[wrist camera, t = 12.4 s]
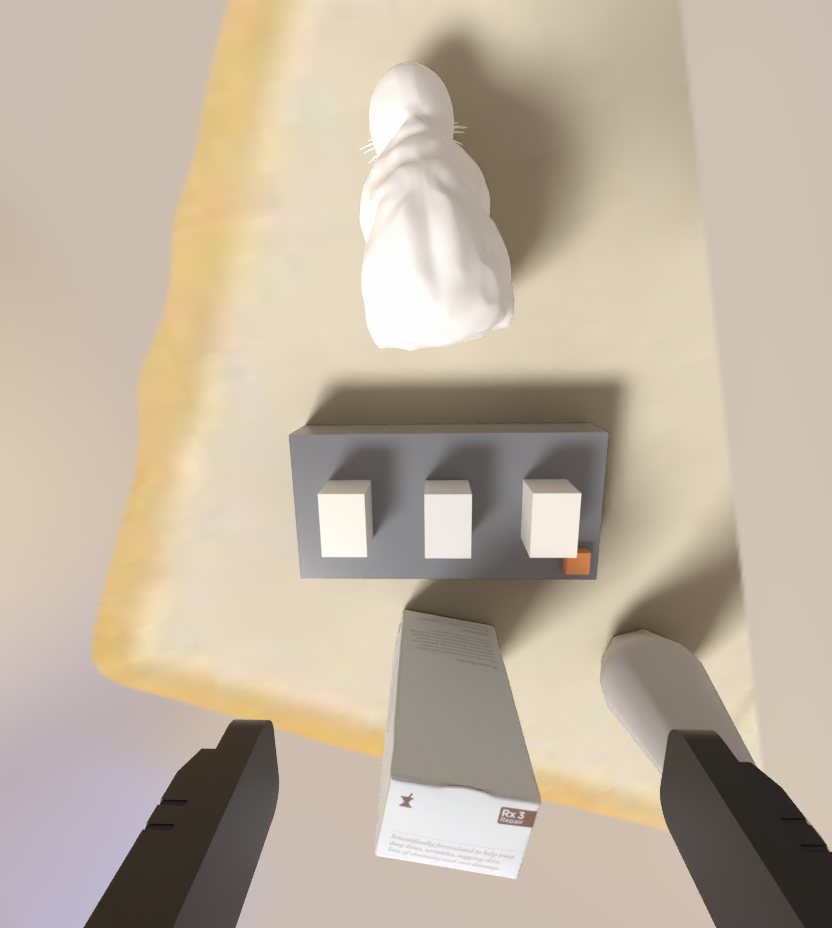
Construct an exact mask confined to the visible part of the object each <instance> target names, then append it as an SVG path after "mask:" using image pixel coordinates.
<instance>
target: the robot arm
mask: <svg viewBox="0 0 832 928" xmlns="http://www.w3.org/2000/svg"><path fill="white" fill-rule="evenodd" d="M278 791H279V774H278V765H277V756H276V747H275V738H274V729H273V724H272V722H271V721H270V720H233V721H232V722H231V723H230V724H229V726H228V727H227V729H226V731H225V733H224V735H223V737H222V738H221V740H220V742H219V744H218V746H217V748H216V749H201V750H200V751H199V752H198V753H197V754H196V755H195V756H194V757H193V758H192V759H190V760H189V761H188V762H187V763H186V764H185V765H184V766H183V767H182V768H181V769H180V770H179V771H178V772H177V774H176V775H175V777H174V779H173V780H172V782H171V784H170V785H169V787H168V788H167V790H166V792H165V793H164V795H163V797H162V799H161V803H160V805H157V807H156V808H155V810H154V812H153V813H152V815H151V817H150V818H149V820H148V822H147V825H146V828H145V830H142V832H141V833H140V835H139V837H138V838H137V840H136V842H135V843H134V845H133V847H132V848H131V850H130V852H129V853H128V855H127V857H126V858H125V860H124V862H123V863H122V865H121V866H120V868H119V870H118V872H117V873H116V875H115V876H114V878H113V880H112V881H111V883H110V885H109V886H108V888H107V890H106V891H105V893H104V895H103V896H102V898H101V900H100V901H99V903H98V905H97V906H96V908H95V910H94V911H93V913H92V915H91V916H90V918H89V920H88V921H87V923H86V925H85V926H84V928H235V927H236V924H237V922H238V919H239V916H240V913H241V910H242V907H243V904H244V901H245V898H246V895H247V892H248V889H249V886H250V883H251V880H252V878H253V875H254V872H255V869H256V866H257V863H258V860H259V857H260V854H261V851H262V848H263V845H264V842H265V840H266V837H267V833H268V831H269V828H270V825H271V822H272V819H273V816H274V813H275V809H276V804H277V799H278ZM660 800H661V806H662V811H663V815H664V818H665V821H666V824H667V826H668V829H669V831H670V833H671V835H672V837H673V839H674V841H675V843H676V845H677V847H678V849H679V852H680V854H681V856H682V858H683V860H684V862H685V864H686V866H687V868H688V870H689V872H690V874H691V876H692V878H693V880H694V882H695V885H696V887H697V889H698V891H699V893H700V895H701V897H702V899H703V901H704V903H705V905H706V907H707V909H708V911H709V913H710V916H711V918H712V920H713V922H714V924H715V926H716V928H832V852H829V851H828V849H827V845H826V844H825V842H824V841H823V840H822V838H821V837H820V836H819V834H818V833H817V832H816V831H815V829H814V828H813V827H812V826H811V825H808V824H807V822H806V818H805V817H804V816H803V814H802V813H801V812H800V810H799V809H798V808H797V807H796V805H795V804H794V803H793V802H792V800H791V799H790V798H789V796H788V795H787V794H786V792H785V791H784V790H783V789H782V788H781V787H780V786H779V785H778V784H777V783H775V782H774V781H773V780H772V779H771V778H769V777H768V776H767V775H766V774H764V773H763V772H762V771H761V770H760V769H758V768H757V767H756V766H755V765H753V764H752V763H751V762H739V761H738V760H737V758H736V757H735V756H734V754H733V753H732V752H731V750H730V749H729V747H728V746H727V745H726V743H725V742H724V741H723V739H722V738H721V737H720V736H719V735H718V734H717V733H716V732H715V731H713V730H684V729H672V730H671V731H670V732H669V734H668V738H667V745H666V752H665V759H664V766H663V772H662V779H661V786H660Z"/></svg>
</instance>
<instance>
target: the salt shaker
mask: <svg viewBox="0 0 832 928" xmlns="http://www.w3.org/2000/svg"><path fill="white" fill-rule="evenodd" d="M600 683H601V687H602V690H603V694H604V697H605V701H606V704H607V706H608V708H609V709H610V710H611V712H612V713H613V714H614V715H615V717H616V718H617V719H618V720H619V722H620V723H621V724H622V725H623V727H624V728H625V729H626V730H627V732H628V733H629V734H630V735H631V737H632V738H633V739H634V741H635V742H636V743H637V744H638V746H639V747H640V748H641V749H642V751H643V752H644V753H645V754H646V756H647V757H648V758H649V759H650V761H651V762H652V763H653V765H654V766H655V767H656V768H657V770H658V771H659V772H660V773H661V775H662V772H663V766H664V759H665V752H666V745H667V738H668V734H669V732H670V731H671V730H672V729H684V730H713V731H715V732H716V733H717V734H718V735H719V736H720V737H721V738H722V739H723V741H724V742H725V743H726V745H727V746H728V747H729V749H730V750H731V752H732V753H733V754H734V756H735V757H736V758H737V760H738V761H739V762H751V763H752V764H753V765H755V763H754V761H753V759H752V757H751V755H750V753H749V751H748V750H747V748H746V746H745V744H744V742H743V740H742V738H741V736H740V734H739V733H738V731H737V729H736V727H735V725H734V723H733V721H732V719H731V717H730V716H729V714H728V712H727V710H726V708H725V706H724V704H723V702H722V701H721V699H720V697H719V695H718V693H717V691H716V689H715V687H714V685H713V684H712V682H711V680H710V678H709V676H708V674H707V672H706V670H705V669H704V667H703V665H702V663H701V662H700V661H699V660H698V659H697V658H696V657H695V656H694V655H693V654H692V653H691V652H690V651H689V650H688V649H687V648H686V647H684V646H683V645H682V644H680V643H678V642H675V641H672V640H669V639H667V638H664V637H661V636H659V635H657V634H654V633H652V632H649V631H647V630H645V629H640V630H636V631H632V632H629V633H625V634H621V635H617V636H614V637H613V639H612V641H611V643H610V644H609V646H608V648H607V650H606V652H605V654H604V656H603V657H602V659H601V673H600ZM755 766H756V765H755ZM756 767H757V766H756ZM806 822H807V824H808V825H811V824H810V823H809V821H808V820H807V819H806ZM811 826H812V825H811ZM812 827H813V826H812ZM813 828H814V827H813ZM814 829H815V828H814ZM815 831H816V829H815ZM816 832H817V831H816ZM817 833H818V832H817ZM818 834H819V833H818ZM819 836H820V837H821V835H820V834H819ZM821 838H822V837H821ZM822 840H823V839H822ZM823 841H824V840H823ZM827 849H828V847H827ZM828 851H829V852H830V850H829V849H828Z"/></svg>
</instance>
